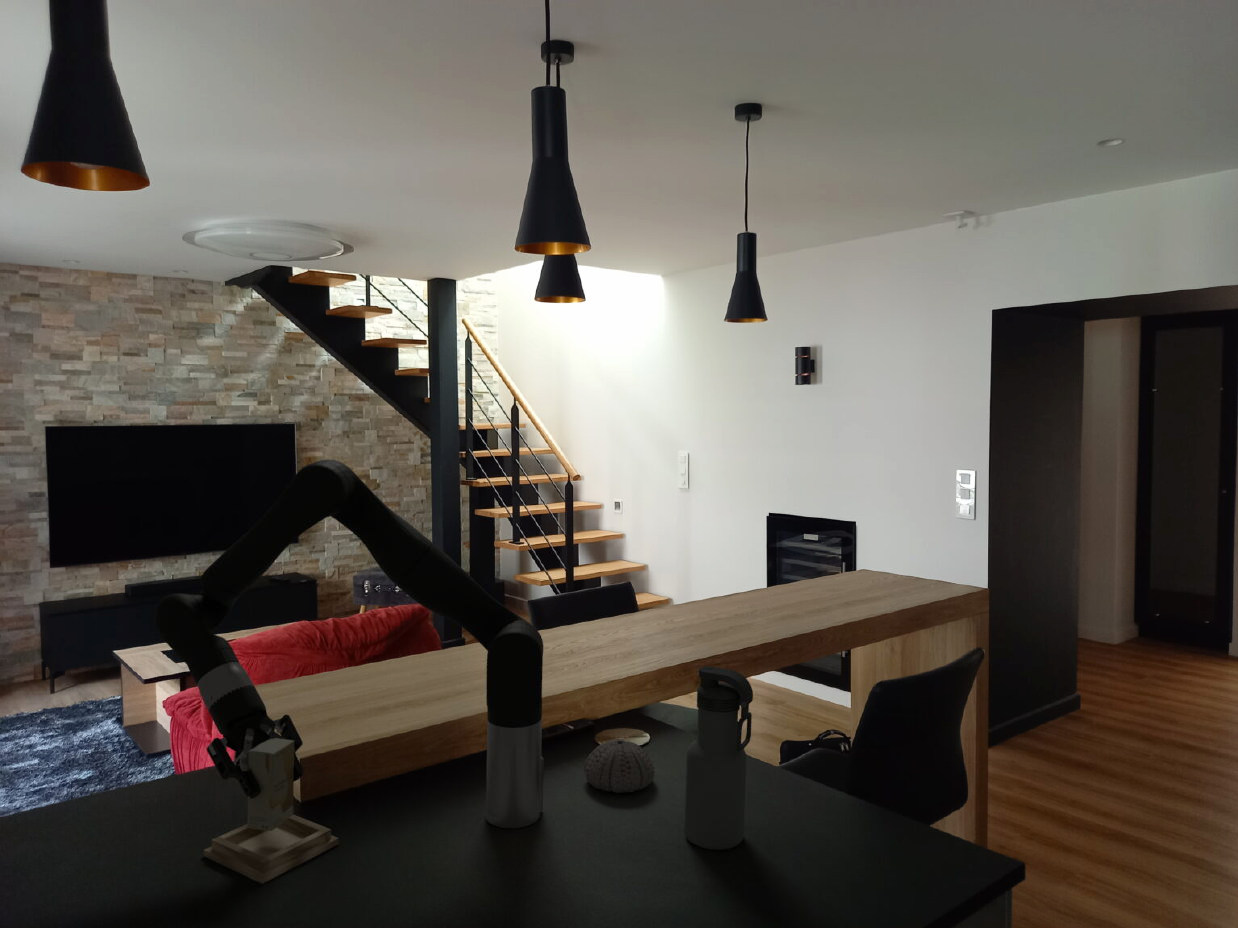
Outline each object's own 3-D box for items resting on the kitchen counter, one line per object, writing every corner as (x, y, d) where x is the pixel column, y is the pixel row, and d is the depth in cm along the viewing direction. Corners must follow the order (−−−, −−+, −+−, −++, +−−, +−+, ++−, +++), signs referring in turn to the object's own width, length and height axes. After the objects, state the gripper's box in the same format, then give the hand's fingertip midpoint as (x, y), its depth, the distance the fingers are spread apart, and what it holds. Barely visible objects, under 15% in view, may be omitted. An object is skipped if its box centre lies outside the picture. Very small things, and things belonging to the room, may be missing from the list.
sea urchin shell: (572, 775, 168) (573, 735, 167) (634, 764, 174) (635, 724, 173) (602, 804, 156) (603, 760, 155) (668, 791, 162) (669, 748, 161)
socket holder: (281, 820, 147) (281, 806, 147) (338, 843, 139) (338, 828, 139) (203, 855, 135) (203, 840, 135) (262, 883, 128) (262, 867, 127)
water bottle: (753, 831, 147) (759, 667, 145) (735, 858, 138) (741, 684, 136) (696, 818, 151) (701, 659, 149) (675, 843, 142) (680, 674, 141)
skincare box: (271, 832, 133) (272, 754, 133) (246, 828, 134) (246, 751, 133) (295, 813, 140) (295, 738, 139) (270, 810, 140) (271, 735, 140)
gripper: (199, 696, 133) (248, 791, 128) (280, 673, 146) (327, 758, 140) (179, 723, 136) (225, 816, 131) (259, 698, 149) (304, 782, 143)
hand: (278, 786), depth 136 cm, fingers closed on skincare box, 7 cm apart
